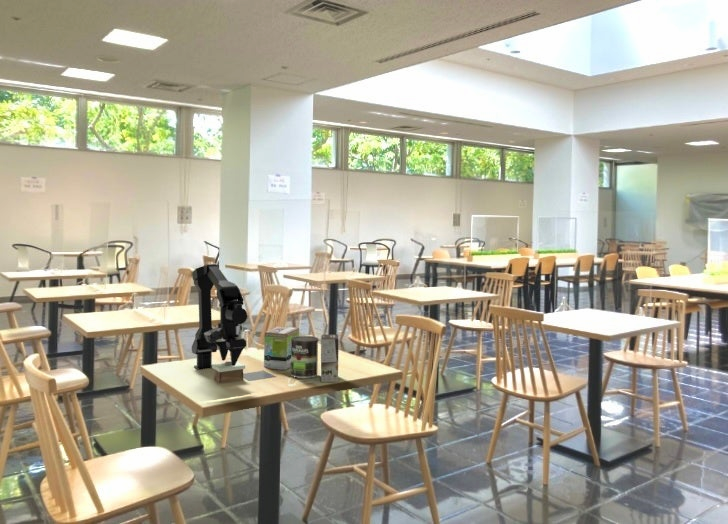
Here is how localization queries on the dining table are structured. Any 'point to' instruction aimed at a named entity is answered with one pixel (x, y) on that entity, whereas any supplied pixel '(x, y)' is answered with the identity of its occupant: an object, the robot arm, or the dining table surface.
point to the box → (228, 376)
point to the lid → (227, 366)
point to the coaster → (257, 375)
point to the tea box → (279, 347)
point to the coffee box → (329, 358)
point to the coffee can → (304, 356)
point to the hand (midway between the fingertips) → (228, 362)
